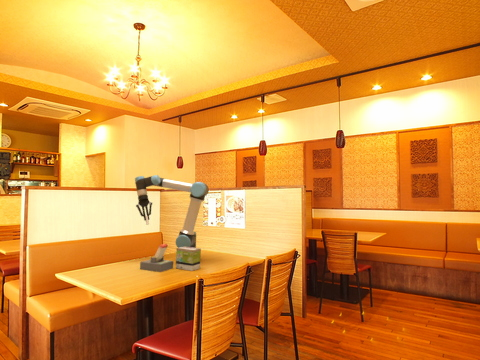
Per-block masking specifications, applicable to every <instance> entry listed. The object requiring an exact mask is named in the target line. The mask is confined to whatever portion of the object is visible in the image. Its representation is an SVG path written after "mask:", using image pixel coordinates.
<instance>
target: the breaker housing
mask: <svg viewBox="0 0 480 360" xmlns="http://www.w3.org/2000/svg"><path fill="white" fill-rule="evenodd" d="M154 257H155V256H152V257H151V256H150V259H147V260H142V261H140V263H139V270H144V271H151V272H156V273H157V272H158V273H162V272H166V271H169V270H172V269H174V260H167V259H164V257H165V256H164V255H163V257H162V259H161V260H159V261H156V258H154Z"/></svg>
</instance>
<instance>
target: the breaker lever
mask: <svg viewBox="0 0 480 360" xmlns="http://www.w3.org/2000/svg"><path fill="white" fill-rule="evenodd" d="M167 249H168V243H163V244H160V245H159V246H158V248H157V250H156V252H155V254H154V256H153V257H154V258H156V261H159V260H161V259H162V257H163V256H164V254H165V253H166V251H167Z"/></svg>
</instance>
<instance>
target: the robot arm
mask: <svg viewBox="0 0 480 360" xmlns="http://www.w3.org/2000/svg"><path fill="white" fill-rule="evenodd" d="M134 181H135V182H134V185H135V187H136V192H137V193H136V194H137V200H138V204H136V205H135V207H136V208H137V210H138V212H139V215H140V216H141V217H143V221H144V222H145V223H146V224H145V225H150V222H149V220H150V216H151V215H152V206H153V202H151V201H150V200H149V195H148V191H147V190H148V189H147V188H149V187H153V186H154V187H160V188H166V189H170V190H171V189H172V190H175V191H181V192H186V193H190V194H189V199H190V201H189V205H188V208H187V211H186V212H187V213H186V215H185V219H184V222H183V226H182V229H180V230H179V233H178V236H177V237H176V239H175V246H176V248H180V247H184V246H186V247H193V248H197V232H196V231H194V229H195V226H196V223H197V219H198V216H199V212H200V208H201V204H202V203H203V202H204V201H205V197H206V196H207V195H208V194H209V192H210V191H209V190H210V189H209V186H208V184H206V183H205V182H202V181H196V182H193V183H191V182H187V181H180V180H176V179H171V178H170V179H169V178H164V177H160V176H159V175H158V174H155V175H151V176H147V177H145V176H143V175H139V176H136V177H135V178H134ZM148 206H149V207H148ZM141 209H142V210H141Z"/></svg>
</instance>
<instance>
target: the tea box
mask: <svg viewBox="0 0 480 360" xmlns="http://www.w3.org/2000/svg"><path fill="white" fill-rule="evenodd" d="M201 251H202V248H200V247H196V248H193V247H186V246H184V247H180V248H178V247H176V251H175V253H176V254H175V255H176V256H175V269H179V270H186V271H190V272H193V271H197V270H200V269H201V256H202V255H201Z"/></svg>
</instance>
